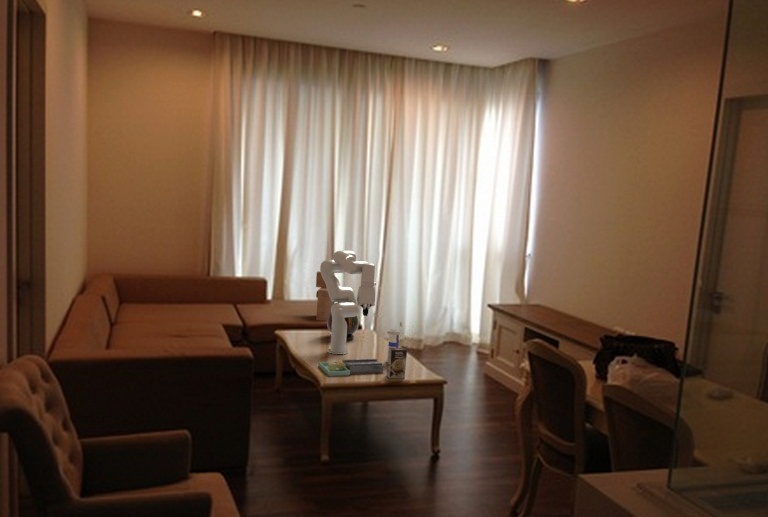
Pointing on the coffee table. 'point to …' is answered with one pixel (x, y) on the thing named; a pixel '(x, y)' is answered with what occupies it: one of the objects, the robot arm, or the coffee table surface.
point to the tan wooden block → (340, 365)
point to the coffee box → (396, 362)
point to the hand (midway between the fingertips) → (365, 315)
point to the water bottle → (393, 340)
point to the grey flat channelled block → (363, 365)
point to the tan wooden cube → (331, 366)
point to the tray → (333, 373)
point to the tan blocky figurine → (322, 299)
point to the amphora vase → (351, 325)
